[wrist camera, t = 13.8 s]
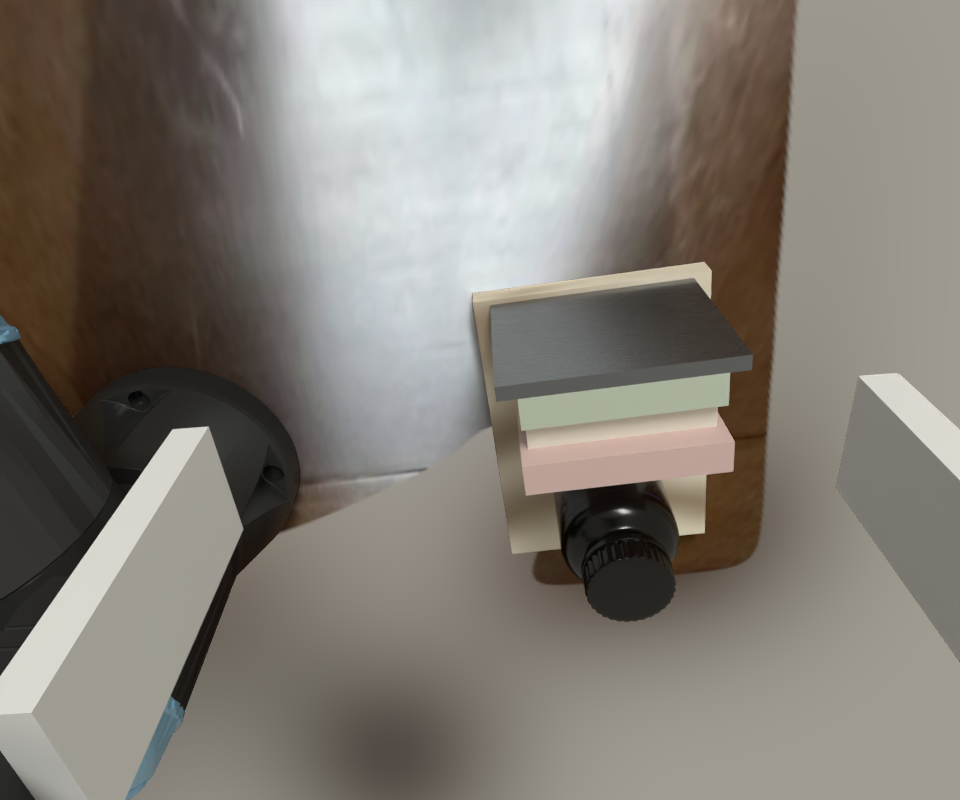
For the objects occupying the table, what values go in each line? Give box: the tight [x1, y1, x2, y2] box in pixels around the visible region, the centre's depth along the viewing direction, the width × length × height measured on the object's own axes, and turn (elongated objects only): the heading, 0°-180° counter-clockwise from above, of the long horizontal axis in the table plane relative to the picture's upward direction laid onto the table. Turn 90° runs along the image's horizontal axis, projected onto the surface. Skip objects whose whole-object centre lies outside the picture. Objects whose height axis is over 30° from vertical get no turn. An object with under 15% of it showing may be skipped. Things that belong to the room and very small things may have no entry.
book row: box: [515, 373, 735, 496], centre depth 39 cm, size 5×10×10 cm, turn 98°
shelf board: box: [473, 262, 712, 554], centre depth 47 cm, size 20×14×2 cm
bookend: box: [490, 278, 753, 402], centre depth 37 cm, size 1×12×10 cm, turn 99°
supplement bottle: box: [554, 480, 679, 622], centre depth 42 cm, size 7×7×12 cm
